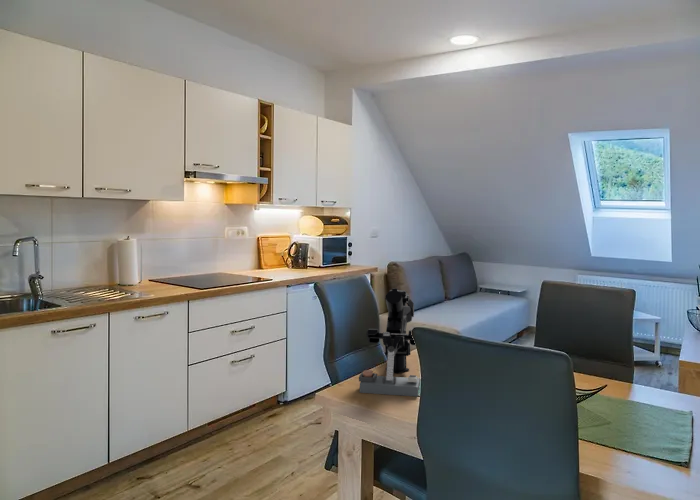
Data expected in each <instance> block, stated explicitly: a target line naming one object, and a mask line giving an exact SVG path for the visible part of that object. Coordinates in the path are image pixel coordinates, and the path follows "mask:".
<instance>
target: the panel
mask: <svg viewBox="0 0 700 500" xmlns="http://www.w3.org/2000/svg"><path fill="white" fill-rule="evenodd" d="M386 377H387V375H378V373H375V372H373V377H363V372H360V373H359V376H358V382H359V393H360V394H361V393H362V394H375V395H388V396H389V395H390V396H408V397H418V396H419V393H418V390H419V391H420V388H419V386H420V387H421V383H420V382H421V379H420V378H419V377H417V382H408V377H403V376H402V377H400V376H393V381H387V380H386Z"/></svg>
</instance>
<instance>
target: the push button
mask: <svg viewBox="0 0 700 500" xmlns="http://www.w3.org/2000/svg"><path fill="white" fill-rule="evenodd" d="M362 373H363V377H373V373H374V371H373V370H371V369H366V370H363V371H362Z"/></svg>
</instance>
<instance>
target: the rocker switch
mask: <svg viewBox="0 0 700 500" xmlns="http://www.w3.org/2000/svg"><path fill="white" fill-rule="evenodd" d="M407 378H408V382H417V378H418V376H417V375H413V374H409V375H408V376H407Z"/></svg>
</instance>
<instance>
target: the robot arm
mask: <svg viewBox="0 0 700 500" xmlns="http://www.w3.org/2000/svg"><path fill="white" fill-rule="evenodd" d="M384 299H385V303H386V307H387V311H388V312H387V322H386V329H385V330H386V331H382V333H381V332H380V331H379V329H378V328H368V329H367V330H366V334H365V335H366V339H367V343H369V344H378V343H379V342H380V340H382V344H383V346H384V347H385V348H384V349H385V355H386V356H388V347H389V346H393V347H394V348H395V351H394V366H393V374H394V373H395V374H400V373H404V372H408V371H410V368H408V367H407V357H408V356H410V355H411V352H412V351H411V346H416V345H415V343H414V340H413V338H412V335H411V331H412V330H413V329H412V330H411V329H409V330H408V333H407V324H408V323H411V322H412V320H413V318H414V317H415V306H414V302H413V301H412V299H410V294H409V293H407V291H406V290H402V289H401V290H400V289H398V288H394V287H392V288H391V289H389V291H388V292H387V293H386V295H385V298H384ZM385 371H387V367H385Z"/></svg>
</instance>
